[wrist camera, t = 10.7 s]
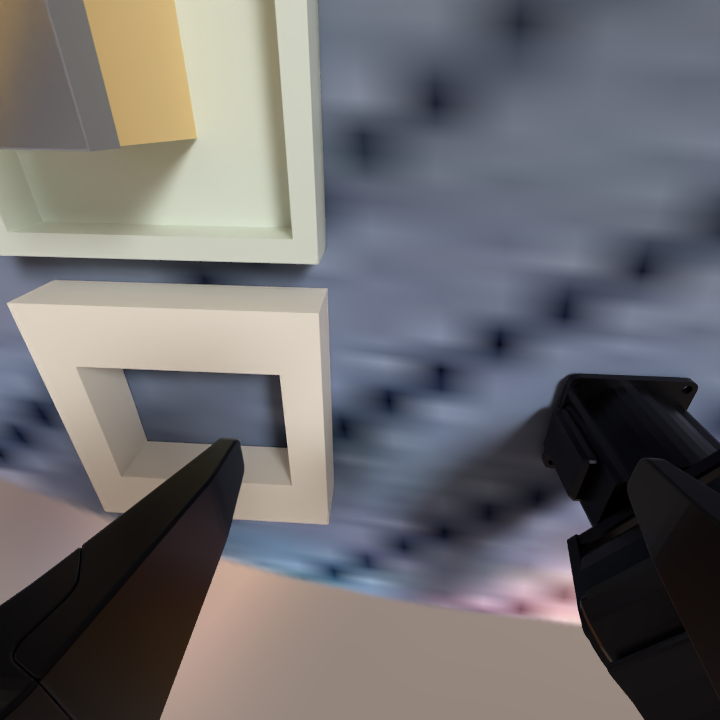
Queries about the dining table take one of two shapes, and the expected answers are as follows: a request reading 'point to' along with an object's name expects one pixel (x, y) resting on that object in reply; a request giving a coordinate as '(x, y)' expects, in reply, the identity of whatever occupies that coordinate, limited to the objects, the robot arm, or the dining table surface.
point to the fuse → (91, 75)
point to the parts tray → (196, 157)
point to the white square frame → (186, 353)
